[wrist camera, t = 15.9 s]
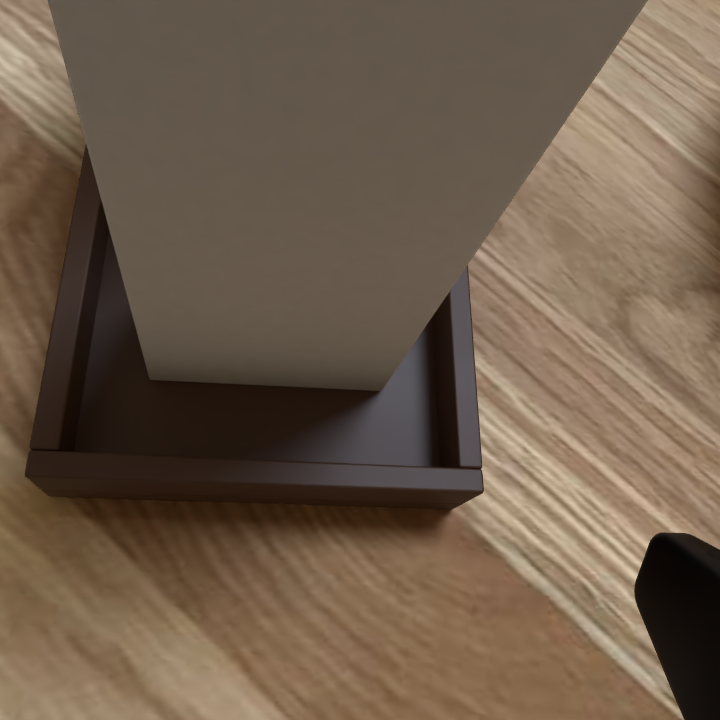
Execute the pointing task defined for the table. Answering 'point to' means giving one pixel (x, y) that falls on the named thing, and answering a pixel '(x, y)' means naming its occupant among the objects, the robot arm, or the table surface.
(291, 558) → the table surface
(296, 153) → the white book
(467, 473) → the book tray
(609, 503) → the table surface
